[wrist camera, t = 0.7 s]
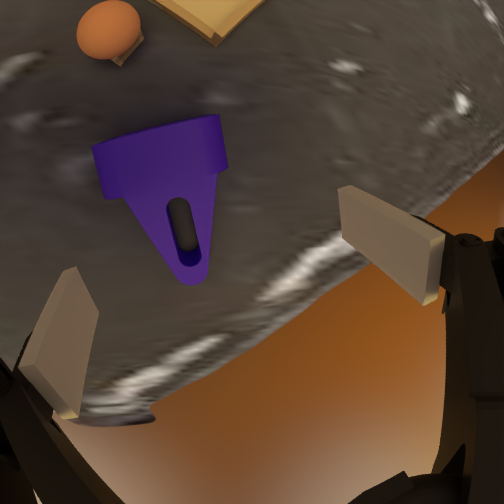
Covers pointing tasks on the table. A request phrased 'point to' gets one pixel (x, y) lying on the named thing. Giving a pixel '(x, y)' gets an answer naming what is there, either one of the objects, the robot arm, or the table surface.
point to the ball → (108, 29)
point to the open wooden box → (128, 51)
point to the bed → (209, 15)
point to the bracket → (167, 183)
